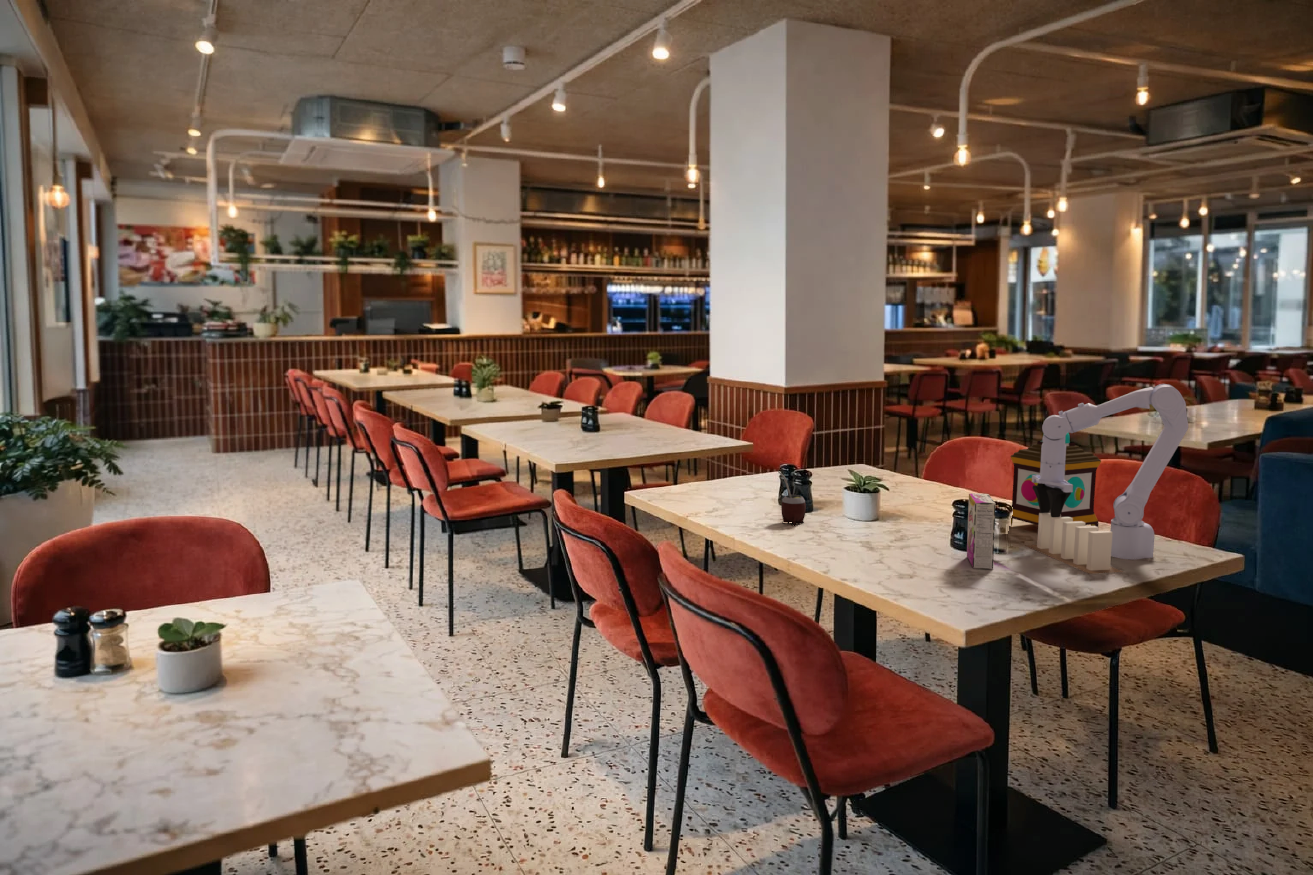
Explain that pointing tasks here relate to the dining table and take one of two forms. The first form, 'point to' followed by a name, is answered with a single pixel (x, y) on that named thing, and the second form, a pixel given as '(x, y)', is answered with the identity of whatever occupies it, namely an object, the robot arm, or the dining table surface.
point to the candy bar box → (981, 531)
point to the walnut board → (1070, 561)
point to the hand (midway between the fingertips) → (1050, 514)
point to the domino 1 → (1044, 530)
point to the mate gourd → (792, 507)
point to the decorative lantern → (1076, 473)
